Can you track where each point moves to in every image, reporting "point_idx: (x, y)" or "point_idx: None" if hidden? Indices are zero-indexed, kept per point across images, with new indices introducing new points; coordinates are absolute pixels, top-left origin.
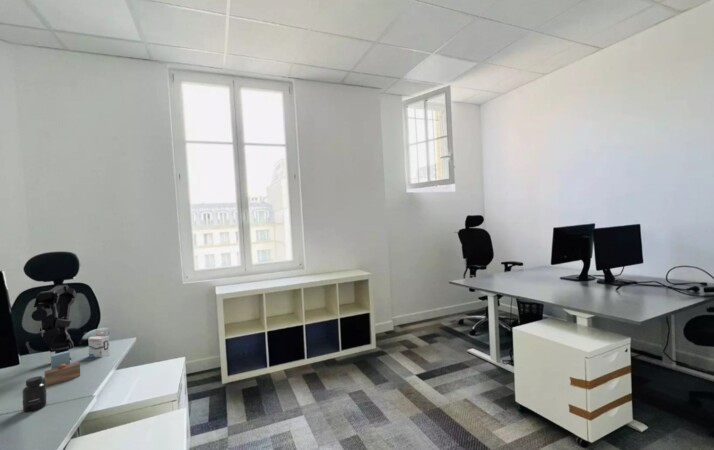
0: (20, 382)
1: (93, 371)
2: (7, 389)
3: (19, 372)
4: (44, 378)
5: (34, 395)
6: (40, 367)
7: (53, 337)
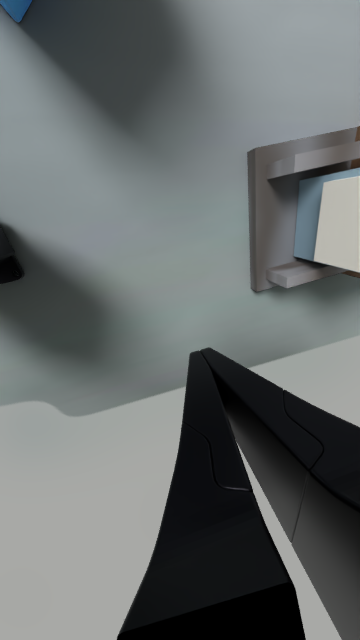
0: None
1: (355, 30)
2: None
3: (68, 392)
4: (271, 283)
5: None
6: (42, 335)
7: (354, 426)
